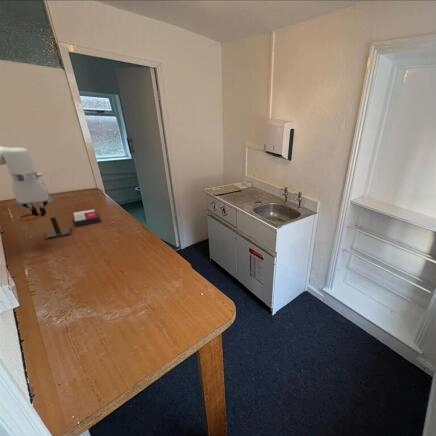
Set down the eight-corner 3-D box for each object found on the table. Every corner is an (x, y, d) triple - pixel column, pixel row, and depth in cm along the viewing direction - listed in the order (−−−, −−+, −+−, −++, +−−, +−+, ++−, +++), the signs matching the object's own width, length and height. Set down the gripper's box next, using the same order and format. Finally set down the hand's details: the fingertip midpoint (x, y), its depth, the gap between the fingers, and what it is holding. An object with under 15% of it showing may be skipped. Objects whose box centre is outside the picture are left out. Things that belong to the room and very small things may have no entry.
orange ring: (16, 222, 101) (15, 220, 101) (19, 216, 107) (18, 214, 106) (42, 218, 106) (41, 216, 106) (43, 213, 112) (43, 211, 111)
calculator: (73, 221, 132) (72, 211, 141) (76, 227, 134) (74, 218, 143) (98, 216, 139) (94, 208, 148) (100, 222, 141) (96, 214, 150)
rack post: (46, 239, 119) (38, 221, 115) (48, 233, 125) (41, 216, 121) (69, 234, 124) (63, 217, 121) (70, 228, 131) (64, 212, 127)
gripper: (51, 173, 109) (63, 210, 116) (-1, 177, 99) (17, 216, 106) (49, 177, 103) (62, 215, 111) (-5, 180, 94) (13, 222, 101)
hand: (40, 215), depth 108 cm, fingers closed on orange ring, 1 cm apart
